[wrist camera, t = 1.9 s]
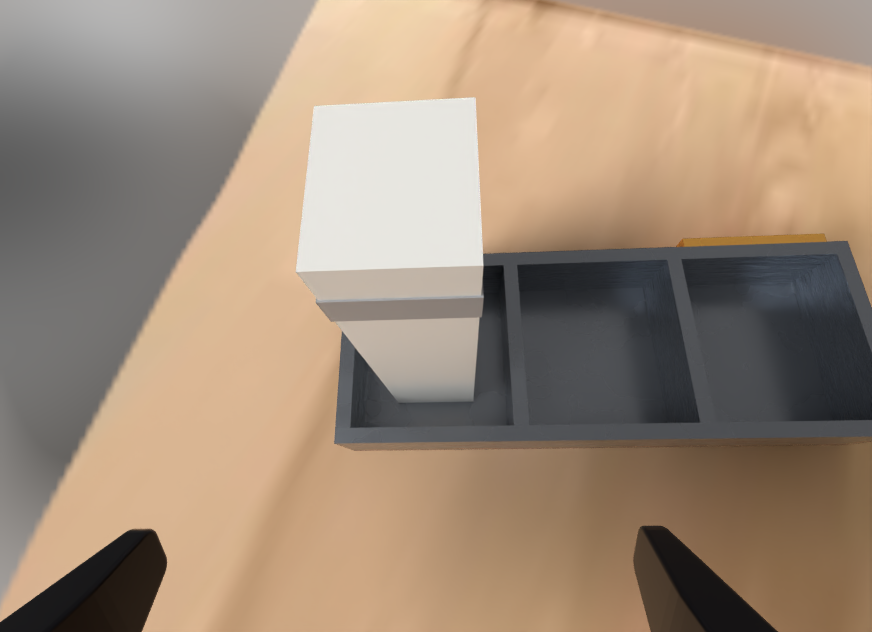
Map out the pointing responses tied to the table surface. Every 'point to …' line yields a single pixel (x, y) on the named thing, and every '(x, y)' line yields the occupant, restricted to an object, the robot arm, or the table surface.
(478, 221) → the white capped pillar
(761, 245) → the rack
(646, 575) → the robot arm
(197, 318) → the table surface
